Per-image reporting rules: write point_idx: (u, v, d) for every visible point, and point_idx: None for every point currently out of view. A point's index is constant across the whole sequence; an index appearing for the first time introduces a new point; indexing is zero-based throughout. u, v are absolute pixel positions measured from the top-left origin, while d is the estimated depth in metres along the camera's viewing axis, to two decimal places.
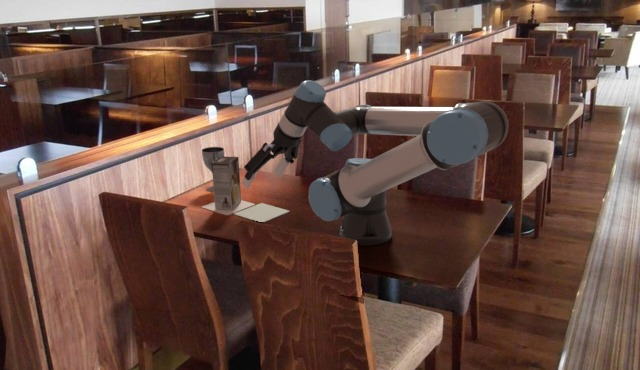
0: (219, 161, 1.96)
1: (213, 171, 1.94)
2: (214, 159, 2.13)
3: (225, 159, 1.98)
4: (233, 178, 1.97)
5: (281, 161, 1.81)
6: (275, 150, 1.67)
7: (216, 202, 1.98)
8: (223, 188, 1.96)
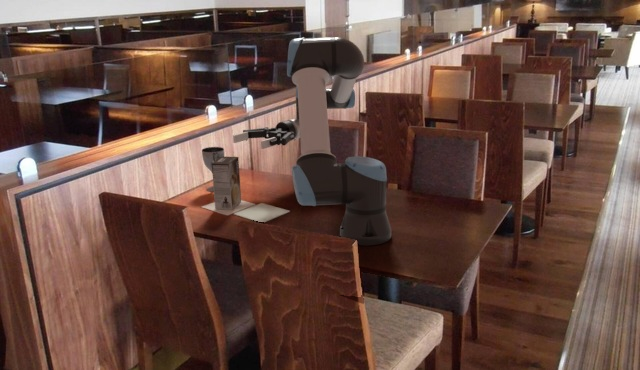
0: (219, 161, 1.96)
1: (213, 171, 1.94)
2: (214, 159, 2.13)
3: (225, 159, 1.98)
4: (233, 178, 1.97)
5: None
6: None
7: (216, 202, 1.98)
8: (223, 188, 1.96)
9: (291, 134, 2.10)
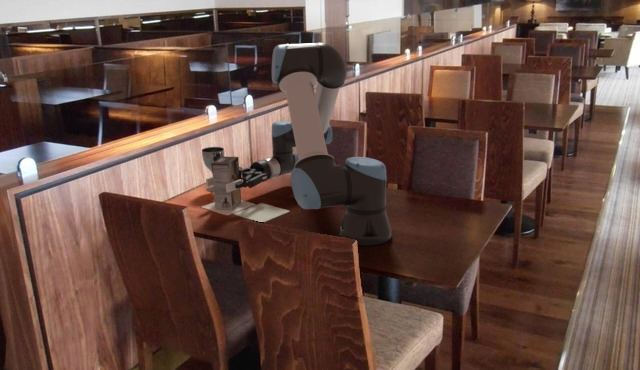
0: (219, 161, 1.96)
1: (213, 171, 1.94)
2: (214, 159, 2.13)
3: (225, 159, 1.98)
4: (233, 178, 1.97)
5: None
6: None
7: (216, 202, 1.98)
8: (223, 188, 1.96)
9: (263, 176, 2.03)
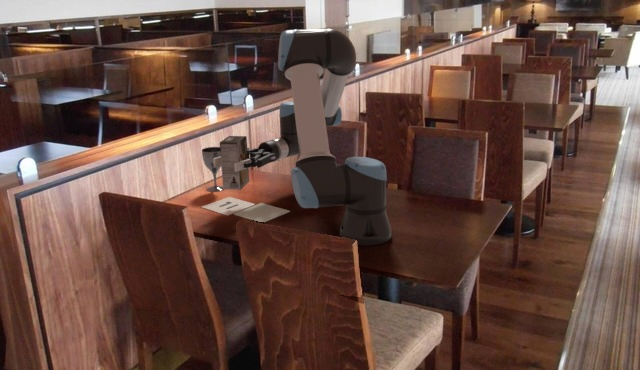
0: (227, 140, 1.92)
1: (221, 150, 1.91)
2: None
3: (233, 138, 1.94)
4: (242, 158, 1.93)
5: None
6: None
7: (224, 182, 1.94)
8: (231, 167, 1.92)
9: (271, 156, 1.99)
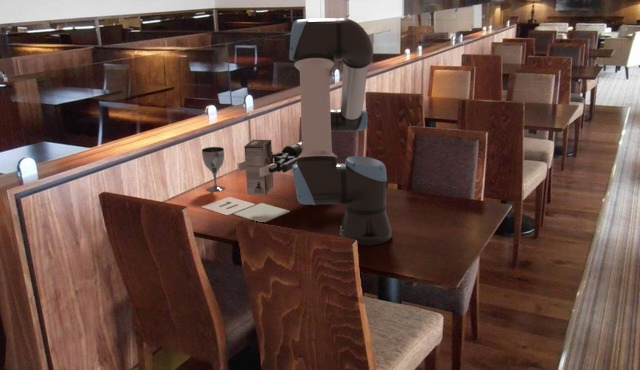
0: (252, 144, 1.86)
1: (246, 154, 1.85)
2: (214, 159, 2.13)
3: (258, 142, 1.88)
4: (267, 162, 1.88)
5: None
6: None
7: (248, 187, 1.89)
8: (256, 172, 1.86)
9: (297, 160, 1.94)
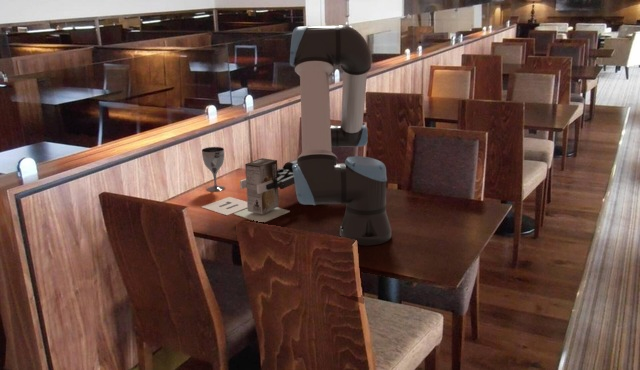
0: (254, 162, 1.90)
1: (247, 172, 1.89)
2: (214, 159, 2.13)
3: (262, 161, 1.91)
4: None
5: None
6: None
7: (248, 204, 1.92)
8: (255, 190, 1.89)
9: None
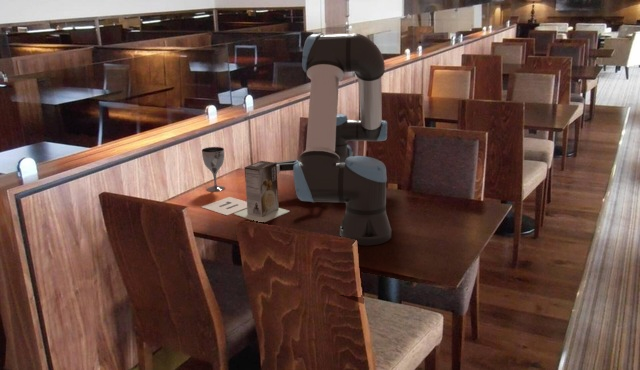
0: (254, 165, 1.90)
1: (246, 175, 1.89)
2: (214, 159, 2.13)
3: (261, 164, 1.91)
4: (266, 185, 1.90)
5: None
6: None
7: (248, 207, 1.93)
8: (254, 193, 1.90)
9: None
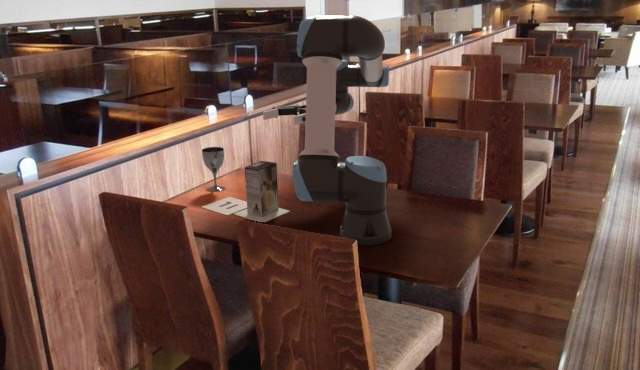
0: (254, 165, 1.90)
1: (246, 175, 1.89)
2: (214, 159, 2.13)
3: (261, 164, 1.91)
4: (266, 185, 1.90)
5: None
6: None
7: (248, 207, 1.93)
8: (254, 193, 1.90)
9: None
